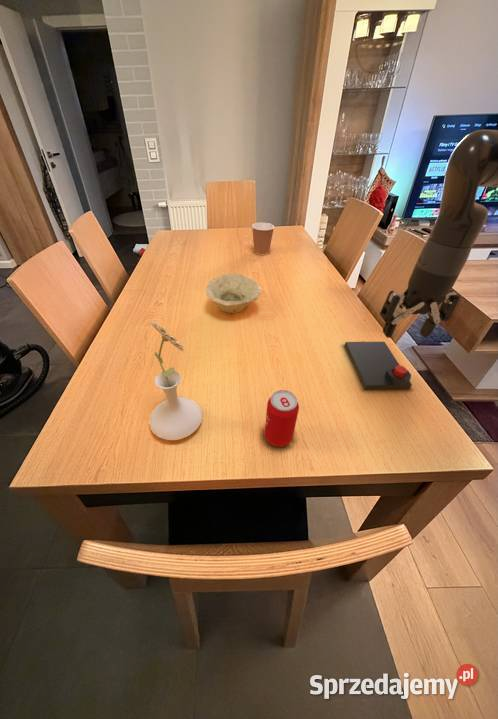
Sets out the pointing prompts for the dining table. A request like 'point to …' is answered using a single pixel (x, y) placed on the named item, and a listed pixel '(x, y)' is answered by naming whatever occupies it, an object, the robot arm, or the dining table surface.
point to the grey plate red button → (376, 366)
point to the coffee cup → (262, 237)
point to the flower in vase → (172, 401)
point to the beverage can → (281, 418)
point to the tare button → (399, 371)
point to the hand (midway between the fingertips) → (405, 335)
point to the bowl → (233, 292)
